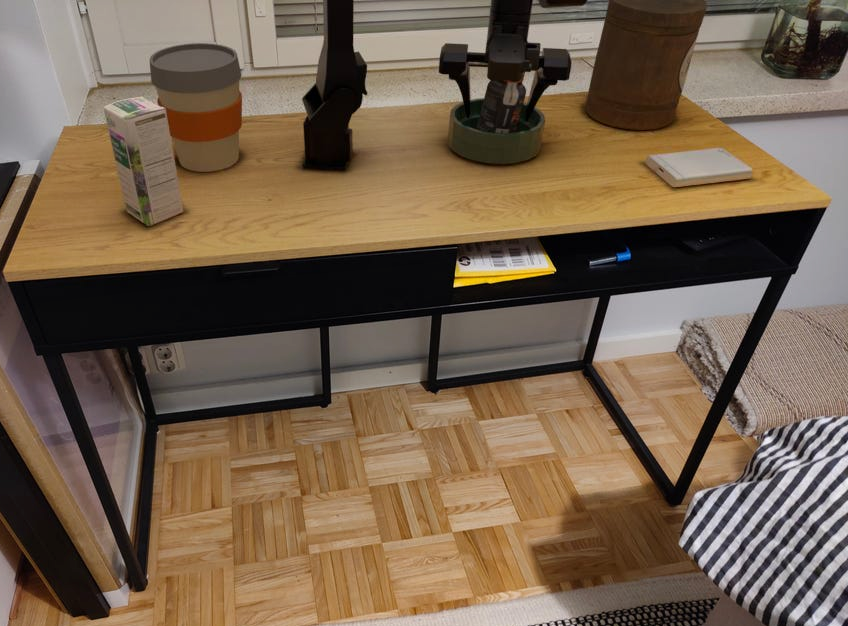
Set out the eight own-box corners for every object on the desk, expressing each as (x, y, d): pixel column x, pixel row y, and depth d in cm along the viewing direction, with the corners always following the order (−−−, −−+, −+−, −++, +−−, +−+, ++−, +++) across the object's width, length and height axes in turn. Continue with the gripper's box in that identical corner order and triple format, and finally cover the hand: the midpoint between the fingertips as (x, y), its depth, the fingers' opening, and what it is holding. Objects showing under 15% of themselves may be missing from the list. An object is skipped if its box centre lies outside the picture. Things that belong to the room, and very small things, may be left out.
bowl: (445, 163, 107) (447, 131, 104) (450, 125, 118) (452, 95, 114) (541, 169, 105) (547, 137, 102) (537, 130, 116) (542, 100, 113)
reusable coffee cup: (151, 170, 105) (129, 66, 95) (191, 136, 114) (175, 39, 104) (228, 182, 102) (214, 76, 92) (263, 147, 111) (253, 47, 101)
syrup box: (125, 212, 95) (99, 105, 86) (163, 197, 98) (141, 93, 89) (147, 227, 92) (123, 119, 83) (186, 212, 95) (166, 105, 86)
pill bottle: (510, 152, 108) (531, 79, 101) (472, 145, 109) (490, 71, 101) (512, 137, 113) (532, 65, 105) (476, 129, 113) (493, 57, 106)
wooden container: (691, 126, 118) (736, -20, 103) (610, 134, 115) (645, -14, 101) (645, 94, 129) (680, -42, 114) (570, 101, 126) (596, -38, 112)
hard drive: (720, 146, 108) (647, 153, 106) (754, 169, 102) (677, 177, 100) (716, 156, 109) (644, 163, 107) (750, 180, 103) (674, 188, 101)
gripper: (440, 23, 93) (432, 136, 104) (584, 29, 91) (562, 144, 102) (445, 0, 102) (437, 107, 112) (577, 6, 100) (557, 114, 110)
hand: (496, 119), depth 109 cm, fingers open, 8 cm apart
